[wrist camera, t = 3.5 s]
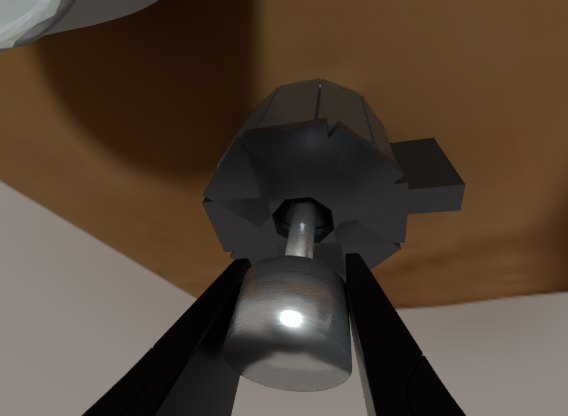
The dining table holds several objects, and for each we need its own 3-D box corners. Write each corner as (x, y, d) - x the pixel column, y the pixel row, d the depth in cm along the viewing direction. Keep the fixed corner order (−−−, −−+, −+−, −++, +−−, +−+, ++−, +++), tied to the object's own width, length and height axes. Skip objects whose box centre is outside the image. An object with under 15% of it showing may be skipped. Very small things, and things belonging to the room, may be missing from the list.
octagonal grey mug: (434, 57, 12) (494, 98, 7) (421, 200, 16) (454, 281, 11) (225, 95, 14) (176, 146, 9) (262, 213, 18) (240, 286, 14)
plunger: (358, 124, 11) (391, 302, 5) (363, 217, 14) (389, 410, 7) (245, 140, 12) (153, 304, 6) (270, 223, 15) (225, 398, 8)
